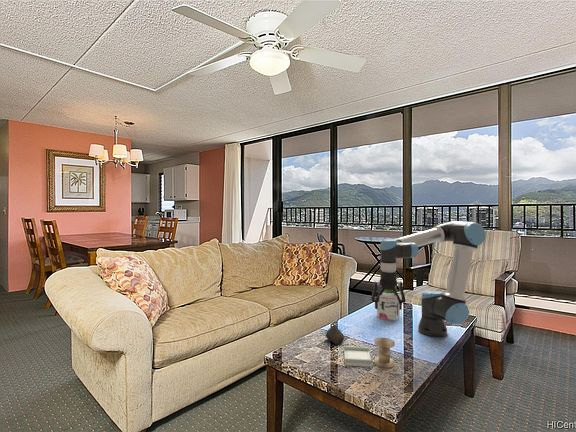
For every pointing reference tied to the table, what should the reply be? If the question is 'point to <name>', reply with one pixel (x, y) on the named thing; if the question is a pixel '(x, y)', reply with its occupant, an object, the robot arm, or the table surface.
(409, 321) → the table surface
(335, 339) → the stone
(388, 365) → the beige door knob
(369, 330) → the table surface
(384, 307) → the ink box
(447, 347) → the table surface
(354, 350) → the notch board
